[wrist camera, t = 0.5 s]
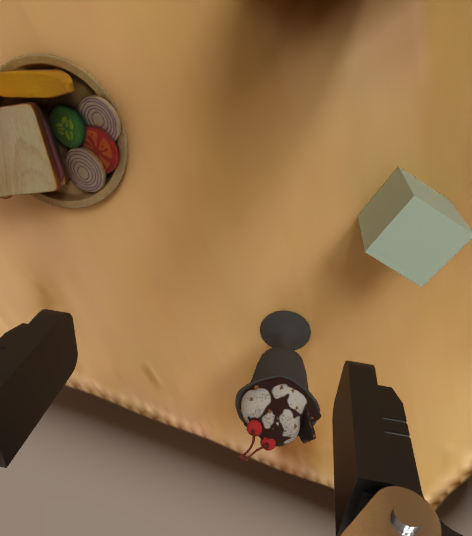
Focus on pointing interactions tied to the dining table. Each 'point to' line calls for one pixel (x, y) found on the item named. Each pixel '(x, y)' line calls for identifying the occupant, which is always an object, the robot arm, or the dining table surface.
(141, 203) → the dining table surface
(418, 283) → the block
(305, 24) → the dining table surface
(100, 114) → the toy sandwich meal
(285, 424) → the sundae
